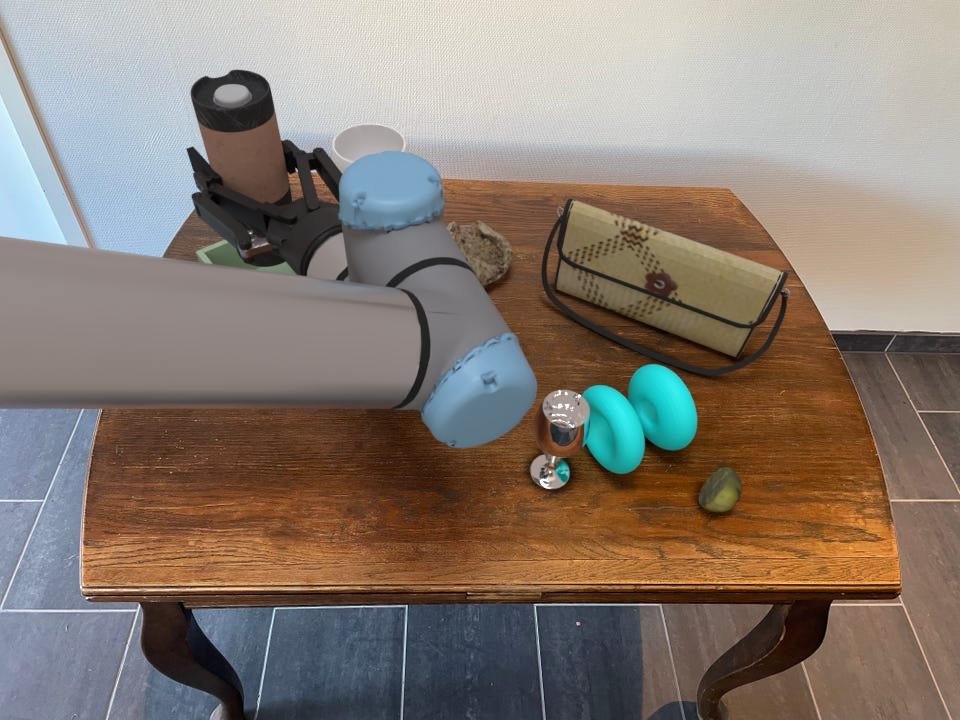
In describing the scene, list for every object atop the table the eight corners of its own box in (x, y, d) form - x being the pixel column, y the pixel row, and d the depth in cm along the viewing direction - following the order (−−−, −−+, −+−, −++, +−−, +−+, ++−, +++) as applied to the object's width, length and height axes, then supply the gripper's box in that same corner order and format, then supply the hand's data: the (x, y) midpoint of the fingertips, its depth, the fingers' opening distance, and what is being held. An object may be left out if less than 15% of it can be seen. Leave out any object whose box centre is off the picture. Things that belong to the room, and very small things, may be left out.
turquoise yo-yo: (687, 460, 79) (714, 409, 71) (614, 494, 75) (635, 444, 68) (636, 396, 84) (657, 343, 76) (566, 425, 81) (581, 372, 73)
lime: (700, 521, 74) (715, 499, 70) (687, 481, 77) (700, 458, 73) (739, 518, 74) (756, 496, 70) (725, 479, 77) (740, 455, 74)
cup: (336, 257, 97) (323, 166, 85) (342, 209, 104) (331, 119, 92) (412, 258, 98) (409, 168, 86) (413, 211, 104) (411, 121, 93)
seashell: (463, 314, 95) (528, 281, 94) (444, 288, 89) (514, 253, 88) (439, 255, 101) (500, 224, 100) (420, 227, 95) (485, 193, 94)
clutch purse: (527, 309, 93) (541, 220, 81) (547, 277, 97) (563, 189, 85) (746, 395, 85) (796, 311, 74) (758, 357, 89) (806, 272, 78)
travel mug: (285, 274, 79) (249, 115, 64) (223, 261, 80) (173, 101, 64) (311, 233, 84) (284, 76, 68) (252, 221, 85) (212, 63, 69)
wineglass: (560, 442, 79) (577, 378, 70) (585, 483, 76) (606, 421, 67) (515, 459, 77) (526, 395, 68) (539, 502, 74) (554, 440, 65)
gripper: (247, 336, 63) (148, 207, 74) (427, 250, 72) (314, 146, 83) (229, 276, 58) (124, 146, 68) (426, 191, 66) (305, 87, 77)
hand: (228, 146), depth 76 cm, fingers closed on travel mug, 7 cm apart
